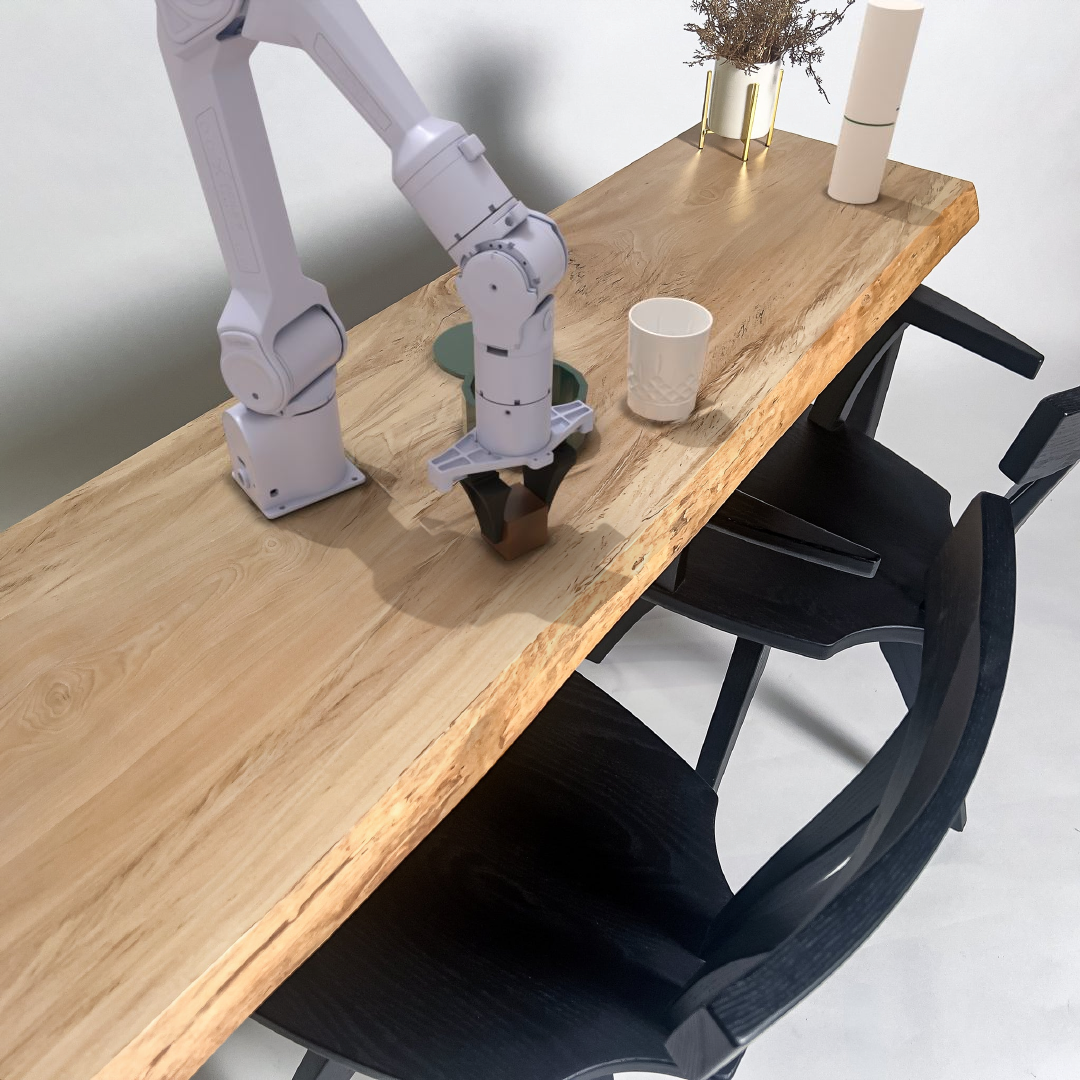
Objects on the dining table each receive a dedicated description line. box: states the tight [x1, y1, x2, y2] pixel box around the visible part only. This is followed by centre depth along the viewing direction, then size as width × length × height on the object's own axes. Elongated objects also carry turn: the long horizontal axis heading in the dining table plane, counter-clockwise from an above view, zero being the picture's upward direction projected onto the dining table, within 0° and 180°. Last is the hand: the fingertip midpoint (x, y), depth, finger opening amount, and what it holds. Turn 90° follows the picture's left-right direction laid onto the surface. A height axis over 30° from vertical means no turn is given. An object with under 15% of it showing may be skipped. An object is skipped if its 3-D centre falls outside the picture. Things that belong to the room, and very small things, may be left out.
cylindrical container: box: [827, 0, 926, 205], centre depth 134 cm, size 7×7×25 cm
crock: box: [460, 358, 589, 467], centre depth 91 cm, size 12×12×5 cm
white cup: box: [626, 296, 714, 425], centre depth 94 cm, size 8×8×10 cm
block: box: [480, 481, 549, 562], centre depth 80 cm, size 4×4×4 cm
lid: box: [432, 320, 475, 380], centre depth 103 cm, size 13×13×5 cm
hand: (513, 526), depth 80 cm, fingers closed on block, 4 cm apart
